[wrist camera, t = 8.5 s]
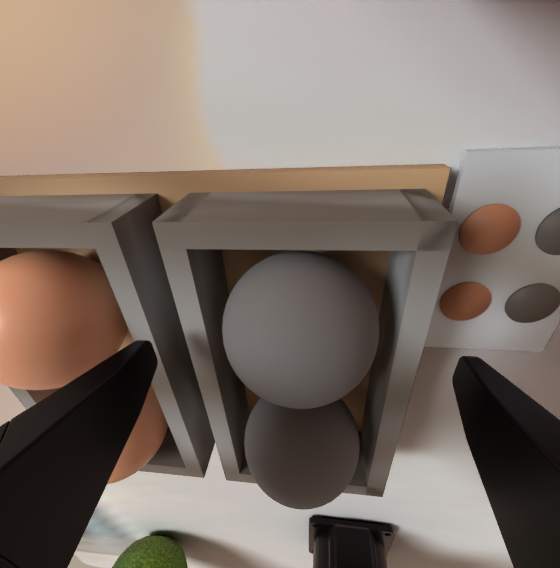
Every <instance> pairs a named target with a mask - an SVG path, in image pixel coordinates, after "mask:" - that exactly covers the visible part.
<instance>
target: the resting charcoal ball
mask: <svg viewBox="0 0 560 568" xmlns="http://www.w3.org/2000/svg"><path fill="white" fill-rule="evenodd" d="M244 446H245V456H246V460H247V464H248V467H249V469H250V472H251V474H252V476H253V478H254V479H255V481H256V483H257V484H258V485H259V487H260V488H261V489H262V490H263V491H264V492H265V493H266V494H267V495H268V496H269V497H270V498H272V499H273V500H275V501H276V502H278V503H280V504H282V505H284V506H287V507H290V508H295V509H312V508H317V507H321V506H323V505H325V504H327V503H329V502H331V501H333V500H334V499H335V498H336V497H338V496H339V495H340V494H341V493H342V492H343V491H344V490H345V488H346V487H347V486H348V484H349V483H350V481H351V479H352V478H353V475H354V473H355V471H356V467H357V463H358V459H359V449H360V445H359V435H358V429H357V426H356V423H355V420H354V418H353V415H352V413H351V411H350V410H349V408H348V407H347V405H346V404H345V402H344V401H343V400H342V399H341V398H340V399H339V400H337V401H334V402H332V403H330V404H327V405H324V406H321V407H317V408H310V409H294V408H287V407H282V406H279V405H276V404H273V403H270V402H268V401H266V400H264V399H263V398H260V399H259V400H258V402H257V403H256V405H255V406H254V408H253V409H252V412H251V414H250V416H249V419H248V422H247V425H246V431H245V438H244Z"/></svg>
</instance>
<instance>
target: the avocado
mask: <svg viewBox="0 0 560 568" xmlns="http://www.w3.org/2000/svg"><path fill="white" fill-rule="evenodd" d="M112 568H187V562H186V557H185V554H184V551H183V549H182V548H181V546H180V545H179V543H178V542H177V541H176V540H174V539H171V538H169V537H167V536H146V537H144V538H142V539H139V540H137V541H135V542H134V543H132V544H131V545H130V546H129V547H128V548H127V549H126V550H125V551H124V552H123V553H122V554H121V555H120V556H119V558H118V559H117V561H116V562H115V564H114V566H113V567H112Z"/></svg>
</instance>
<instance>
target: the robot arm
mask: <svg viewBox="0 0 560 568" xmlns="http://www.w3.org/2000/svg"><path fill="white" fill-rule="evenodd" d="M157 365H158V359H157V356H156V353H155V351H154V348H153V345H152V343H151V342H150V341H148V340H136V341H134V342H132V343H131V344H129V345H128V346H126V347H124V348H123V349H121V350H120V351H118V352H117V353H115V354H113V355H112V356H110V357H109V358H107V359H106V360H104V361H102V362H101V363H99V364H98V365H96V366H95V367H93V368H91V369H90V370H88V371H87V372H85V373H84V374H82V375H80V376H79V377H77V378H76V379H74V380H73V381H71V382H69V383H68V384H66V385H65V386H63V387H61V388H60V389H58V390H57V391H55V392H54V393H52V394H50V395H49V396H47V397H46V398H44V399H43V400H41V401H39V402H38V403H36V404H35V405H33V406H32V407H30V408H28V409H27V410H25V411H24V412H22V413H21V414H19V415H17V416H16V417H14V418H13V419H12V420H11V421H8V422H6V423H5V424H3V425H2V426H0V568H67V567H68V565H69V563H70V561H71V559H72V557H73V555H74V553H75V550H76V548H77V546H78V544H79V542H80V540H81V538H82V536H83V534H84V531H85V529H86V527H87V525H88V523H89V521H90V519H91V517H92V515H93V512H94V510H95V508H96V506H97V504H98V502H99V500H100V498H101V496H102V493H103V491H104V489H105V487H106V485H107V483H108V481H109V479H110V477H111V474H112V472H113V470H114V468H115V466H116V464H117V462H118V460H119V458H120V455H121V453H122V451H123V449H124V447H125V445H126V443H127V441H128V439H129V437H130V434H131V432H132V430H133V428H134V426H135V424H136V422H137V420H138V417H139V415H140V413H141V410H142V408H143V405H144V402H145V400H146V397H147V394H148V391H149V388H150V386H151V383H152V380H153V377H154V374H155V372H156V369H157ZM453 387H454V391H455V395H456V399H457V403H458V407H459V411H460V415H461V419H462V423H463V427H464V431H465V435H466V439H467V442H468V445H469V447H470V450H471V453H472V456H473V458H474V461H475V464H476V467H477V469H478V472H479V475H480V477H481V480H482V483H483V485H484V488H485V491H486V494H487V496H488V499H489V502H490V504H491V507H492V510H493V512H494V515H495V518H496V521H497V523H498V526H499V529H500V531H501V534H502V537H503V539H504V542H505V545H506V548H507V550H508V553H509V556H510V558H511V561H512V564H513V567H514V568H560V420H559V419H558V418H557V417H555V416H554V415H553V414H551V413H550V412H549V411H547V410H546V409H545V408H544V407H542V406H541V405H540V404H538V403H537V402H536V401H535V400H533V399H532V398H531V397H529V396H528V395H527V394H526V393H524V392H523V391H522V390H520V389H519V388H518V387H517V386H515V385H514V384H513V383H511V382H510V381H509V380H508V379H506V378H505V377H504V376H502V375H501V374H500V373H498V372H497V371H496V370H495V369H493V368H492V367H491V366H489V365H488V364H487V363H486V362H484V361H483V360H482V359H480V358H478V357H472V356H462V357H461V358H460V359H459V361H458V364H457V366H456V369H455V372H454V375H453ZM393 538H394V529H393V527H391V526H387V525H378V524H370V523H361V522H353V521H345V520H336V519H328V518H319V517H311V518H309V552H310V553H312V554H313V568H387V561H386V557H387V554H388V551H389V549H390V546H391V543H392V541H393Z"/></svg>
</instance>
